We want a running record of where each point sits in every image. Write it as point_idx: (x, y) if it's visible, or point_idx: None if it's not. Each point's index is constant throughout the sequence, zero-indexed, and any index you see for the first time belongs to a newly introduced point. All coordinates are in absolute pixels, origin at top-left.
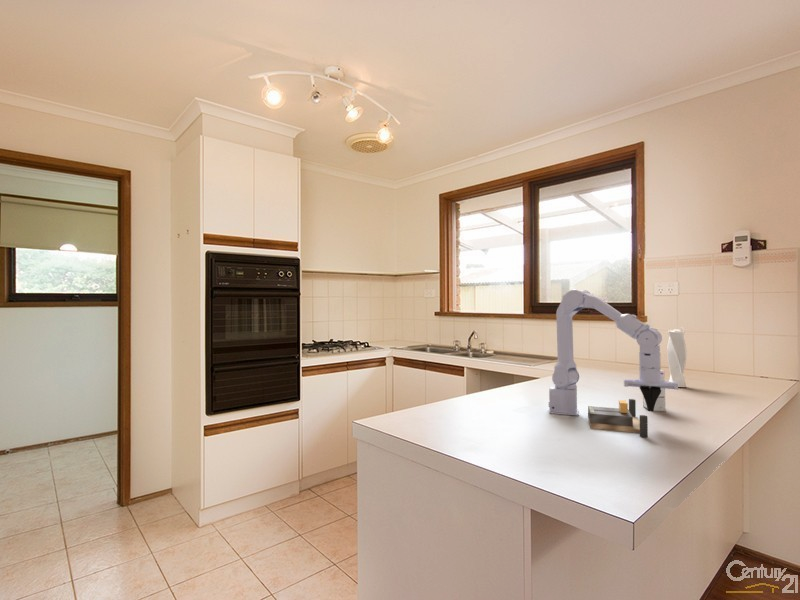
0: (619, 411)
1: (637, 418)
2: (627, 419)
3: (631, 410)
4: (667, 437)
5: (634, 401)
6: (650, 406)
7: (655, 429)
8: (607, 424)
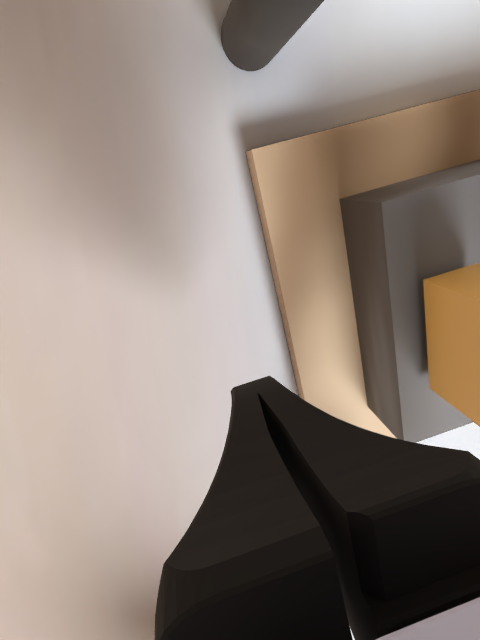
0: None
1: None
2: (405, 188)
3: None
4: (90, 134)
5: None
6: (267, 396)
7: (197, 313)
8: None
